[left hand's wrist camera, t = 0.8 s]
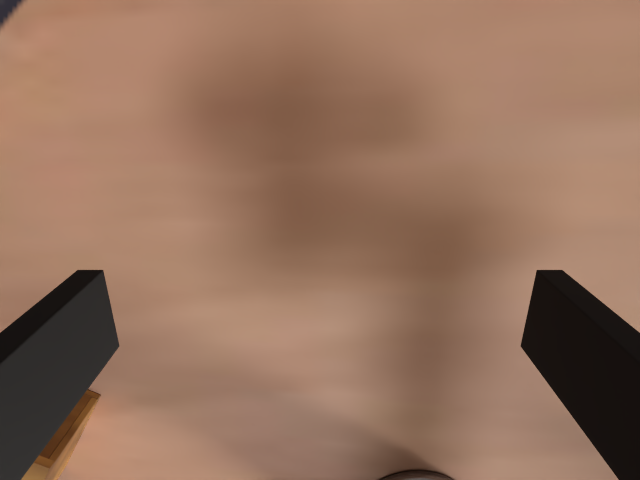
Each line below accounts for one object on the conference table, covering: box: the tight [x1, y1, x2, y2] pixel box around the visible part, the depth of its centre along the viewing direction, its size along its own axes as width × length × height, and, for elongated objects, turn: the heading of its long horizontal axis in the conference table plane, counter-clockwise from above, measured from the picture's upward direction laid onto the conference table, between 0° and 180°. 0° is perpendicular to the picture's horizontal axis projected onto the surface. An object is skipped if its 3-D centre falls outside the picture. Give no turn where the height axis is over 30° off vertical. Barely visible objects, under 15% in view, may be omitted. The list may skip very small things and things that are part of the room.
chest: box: [40, 390, 100, 480], centre depth 46 cm, size 14×10×9 cm
